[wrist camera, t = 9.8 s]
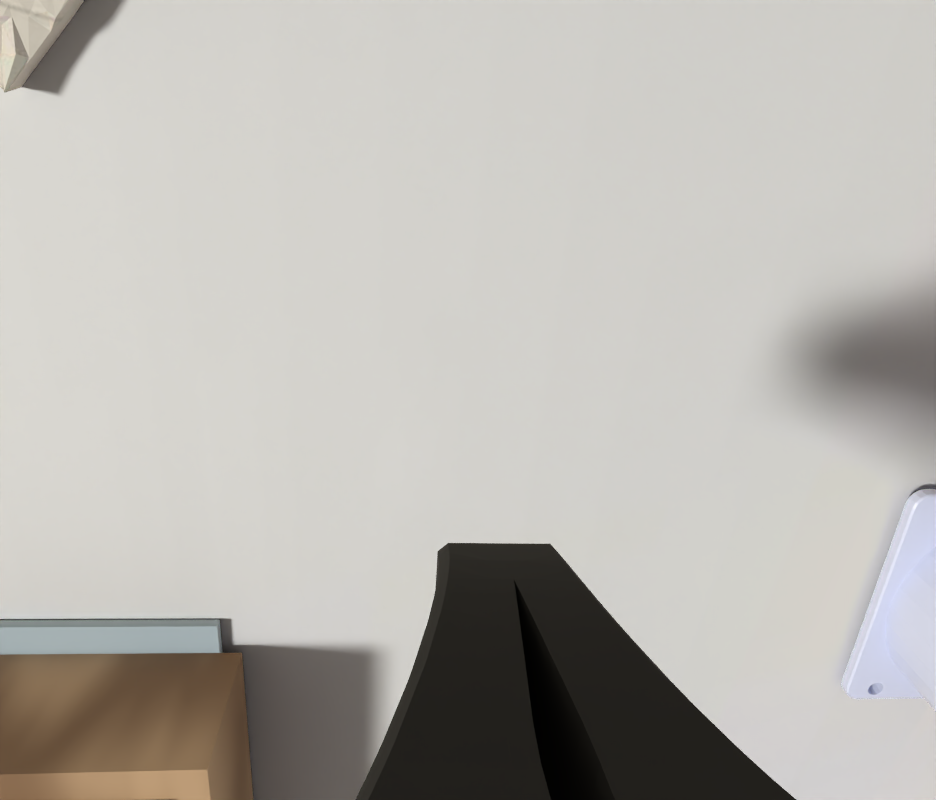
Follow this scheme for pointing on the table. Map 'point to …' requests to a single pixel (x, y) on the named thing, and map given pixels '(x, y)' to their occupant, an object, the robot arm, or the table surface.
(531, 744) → the robot arm
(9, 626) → the mat
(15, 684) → the tan wooden block
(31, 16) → the packaged product
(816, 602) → the table surface
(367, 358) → the table surface
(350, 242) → the table surface
